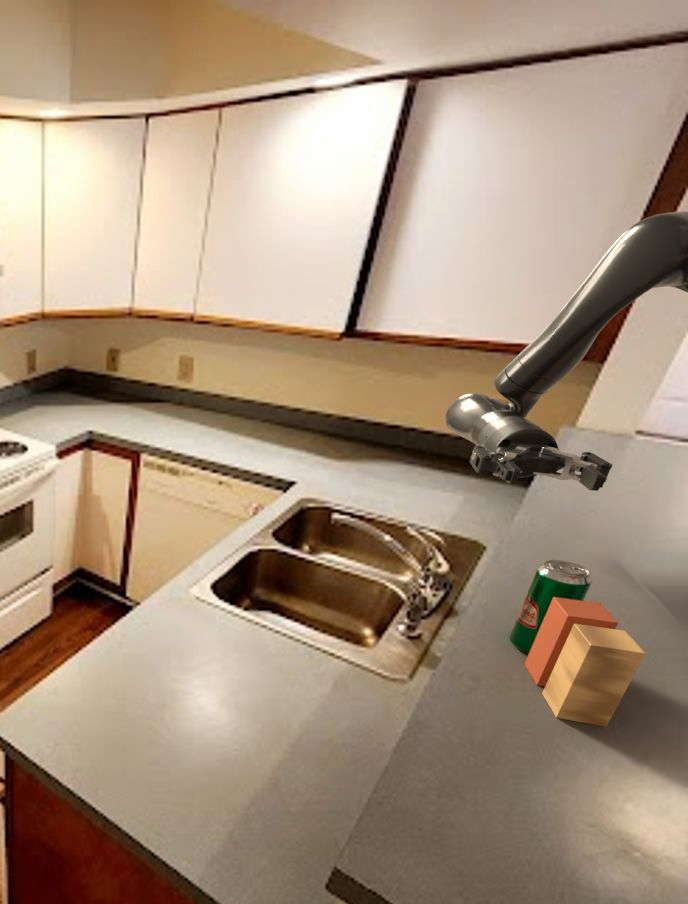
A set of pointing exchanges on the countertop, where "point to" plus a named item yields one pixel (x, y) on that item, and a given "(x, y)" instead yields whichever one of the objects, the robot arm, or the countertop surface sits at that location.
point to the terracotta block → (562, 633)
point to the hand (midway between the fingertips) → (556, 480)
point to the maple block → (592, 674)
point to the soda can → (548, 597)
